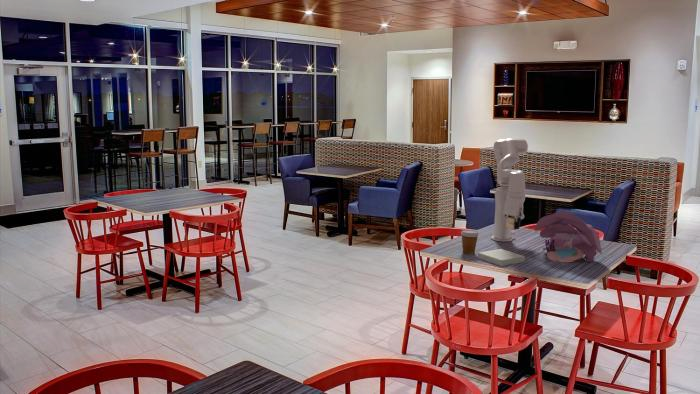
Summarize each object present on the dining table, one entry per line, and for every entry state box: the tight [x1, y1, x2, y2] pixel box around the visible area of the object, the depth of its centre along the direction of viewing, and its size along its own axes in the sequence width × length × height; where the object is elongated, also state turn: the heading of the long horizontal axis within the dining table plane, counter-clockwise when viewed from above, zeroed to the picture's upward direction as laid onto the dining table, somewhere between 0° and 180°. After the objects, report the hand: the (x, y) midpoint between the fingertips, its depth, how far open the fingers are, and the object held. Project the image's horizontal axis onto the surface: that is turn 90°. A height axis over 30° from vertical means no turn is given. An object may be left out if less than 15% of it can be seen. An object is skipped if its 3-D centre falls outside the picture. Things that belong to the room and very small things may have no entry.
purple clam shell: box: [534, 210, 603, 263], centre depth 332 cm, size 35×24×28 cm
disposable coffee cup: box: [460, 229, 479, 255], centre depth 339 cm, size 10×10×12 cm
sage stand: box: [477, 248, 526, 267], centre depth 327 cm, size 17×17×3 cm
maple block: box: [506, 216, 521, 231], centre depth 338 cm, size 5×5×6 cm
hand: (512, 227), depth 339 cm, fingers closed on maple block, 4 cm apart
